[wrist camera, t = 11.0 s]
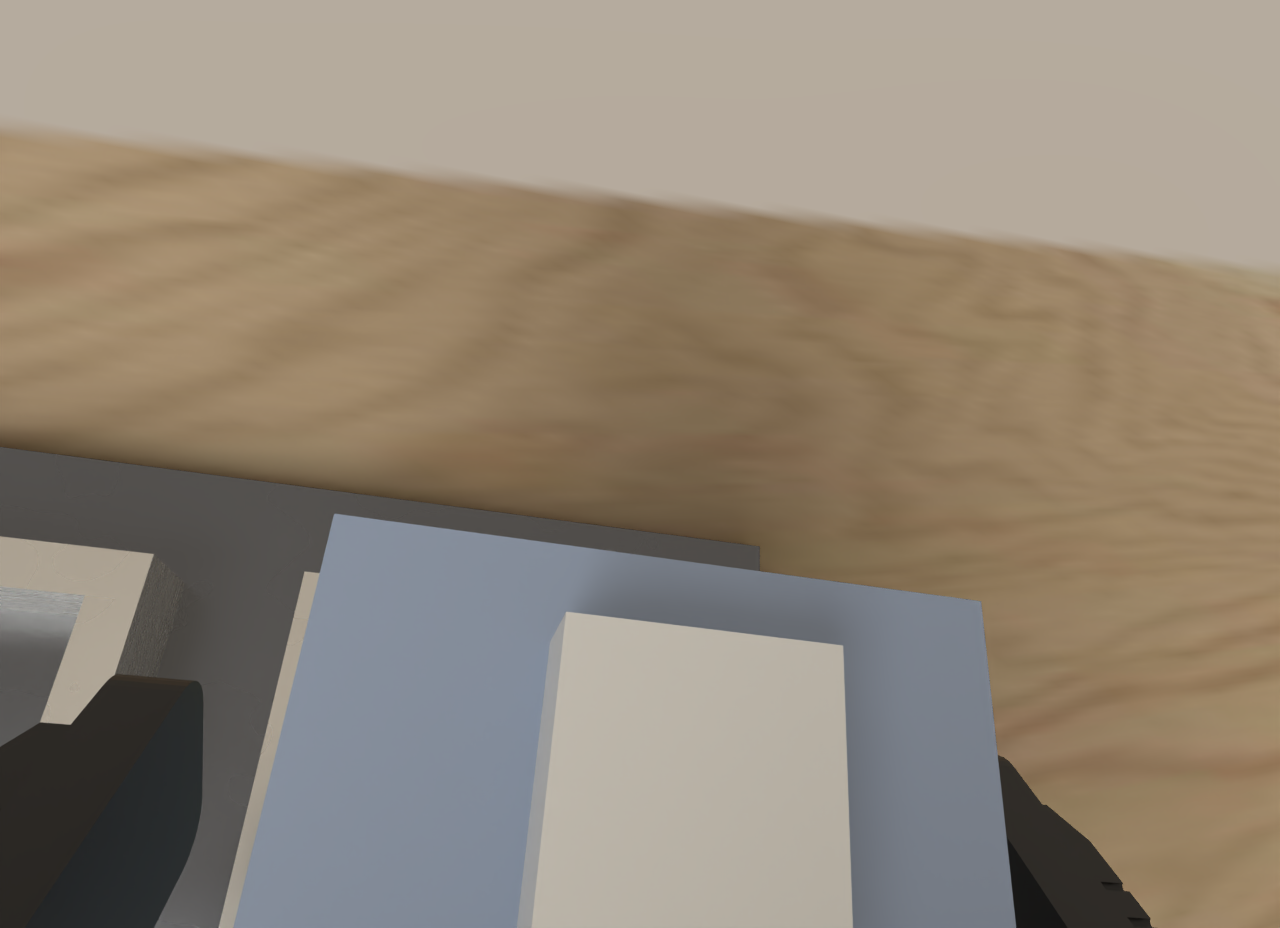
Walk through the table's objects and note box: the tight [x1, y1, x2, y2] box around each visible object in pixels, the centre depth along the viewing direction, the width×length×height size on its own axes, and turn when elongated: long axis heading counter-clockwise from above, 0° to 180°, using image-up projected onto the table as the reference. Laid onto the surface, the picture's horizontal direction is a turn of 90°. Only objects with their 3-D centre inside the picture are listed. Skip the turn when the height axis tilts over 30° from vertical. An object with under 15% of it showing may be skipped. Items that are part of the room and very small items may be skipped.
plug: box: [233, 514, 1016, 928], centre depth 9 cm, size 4×4×12 cm
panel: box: [0, 447, 760, 928], centre depth 13 cm, size 20×13×2 cm, turn 86°
